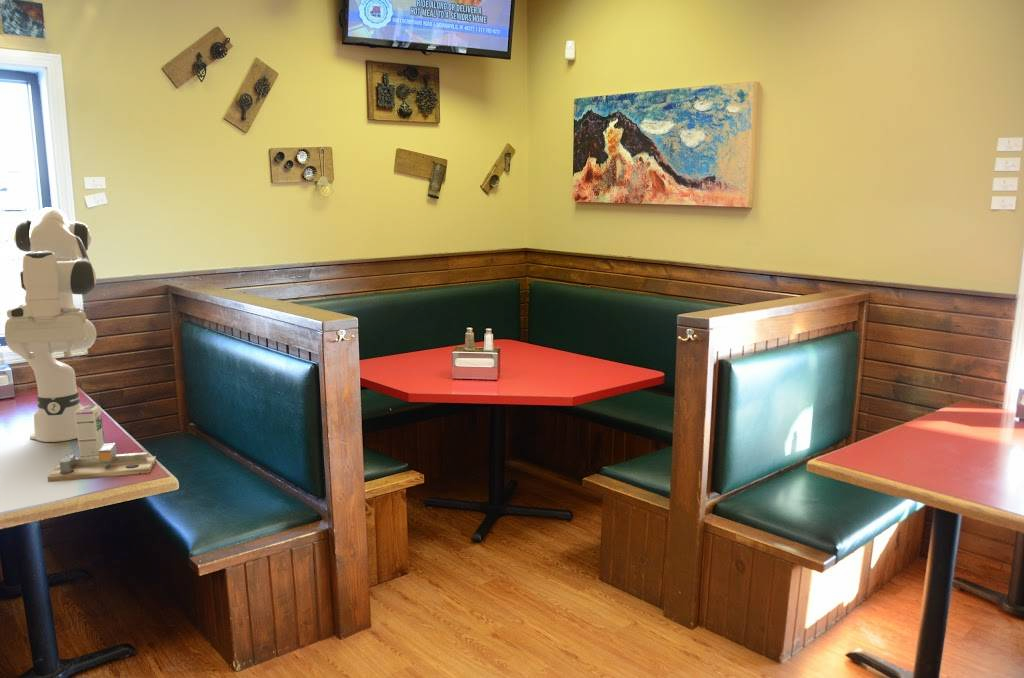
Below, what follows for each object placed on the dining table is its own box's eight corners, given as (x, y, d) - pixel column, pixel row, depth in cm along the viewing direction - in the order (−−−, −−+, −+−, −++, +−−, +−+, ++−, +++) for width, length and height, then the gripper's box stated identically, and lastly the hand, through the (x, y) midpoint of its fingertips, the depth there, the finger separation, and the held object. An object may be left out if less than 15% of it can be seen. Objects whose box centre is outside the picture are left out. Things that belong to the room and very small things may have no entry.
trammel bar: (65, 465, 236) (64, 454, 235) (147, 458, 241) (146, 447, 241) (57, 474, 228) (56, 462, 228) (142, 467, 234) (141, 456, 233)
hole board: (59, 467, 238) (59, 463, 237) (156, 459, 244) (155, 456, 244) (47, 481, 226) (47, 477, 226) (149, 472, 233) (148, 468, 232)
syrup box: (99, 456, 248) (95, 409, 246) (78, 457, 247) (74, 410, 245) (105, 450, 254) (101, 404, 251) (85, 451, 253) (80, 405, 250)
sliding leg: (105, 462, 238) (104, 443, 237) (117, 461, 238) (115, 442, 237) (100, 469, 231) (98, 451, 230) (112, 468, 232) (110, 450, 231)
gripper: (88, 306, 234) (92, 354, 236) (8, 309, 229) (13, 358, 231) (82, 308, 228) (86, 357, 230) (0, 311, 223) (5, 361, 225)
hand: (49, 358), depth 230 cm, fingers open, 8 cm apart
